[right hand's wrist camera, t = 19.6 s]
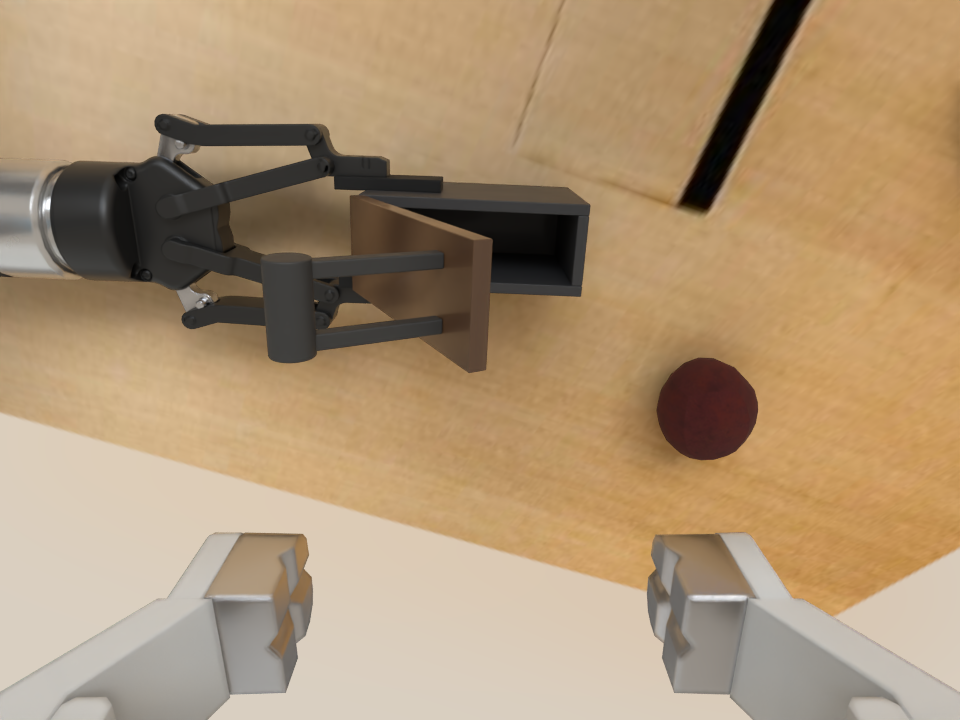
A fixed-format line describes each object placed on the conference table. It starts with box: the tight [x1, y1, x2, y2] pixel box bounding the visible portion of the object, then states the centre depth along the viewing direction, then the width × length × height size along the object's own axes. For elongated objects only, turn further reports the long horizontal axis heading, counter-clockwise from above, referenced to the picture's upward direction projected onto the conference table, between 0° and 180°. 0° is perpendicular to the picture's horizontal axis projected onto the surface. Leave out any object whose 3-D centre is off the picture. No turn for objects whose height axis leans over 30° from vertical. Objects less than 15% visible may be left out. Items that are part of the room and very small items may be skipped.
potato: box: [657, 358, 758, 460], centre depth 48 cm, size 7×8×7 cm
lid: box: [260, 195, 493, 373], centre depth 29 cm, size 14×6×8 cm
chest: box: [359, 182, 590, 297], centre depth 42 cm, size 13×6×10 cm, turn 87°
